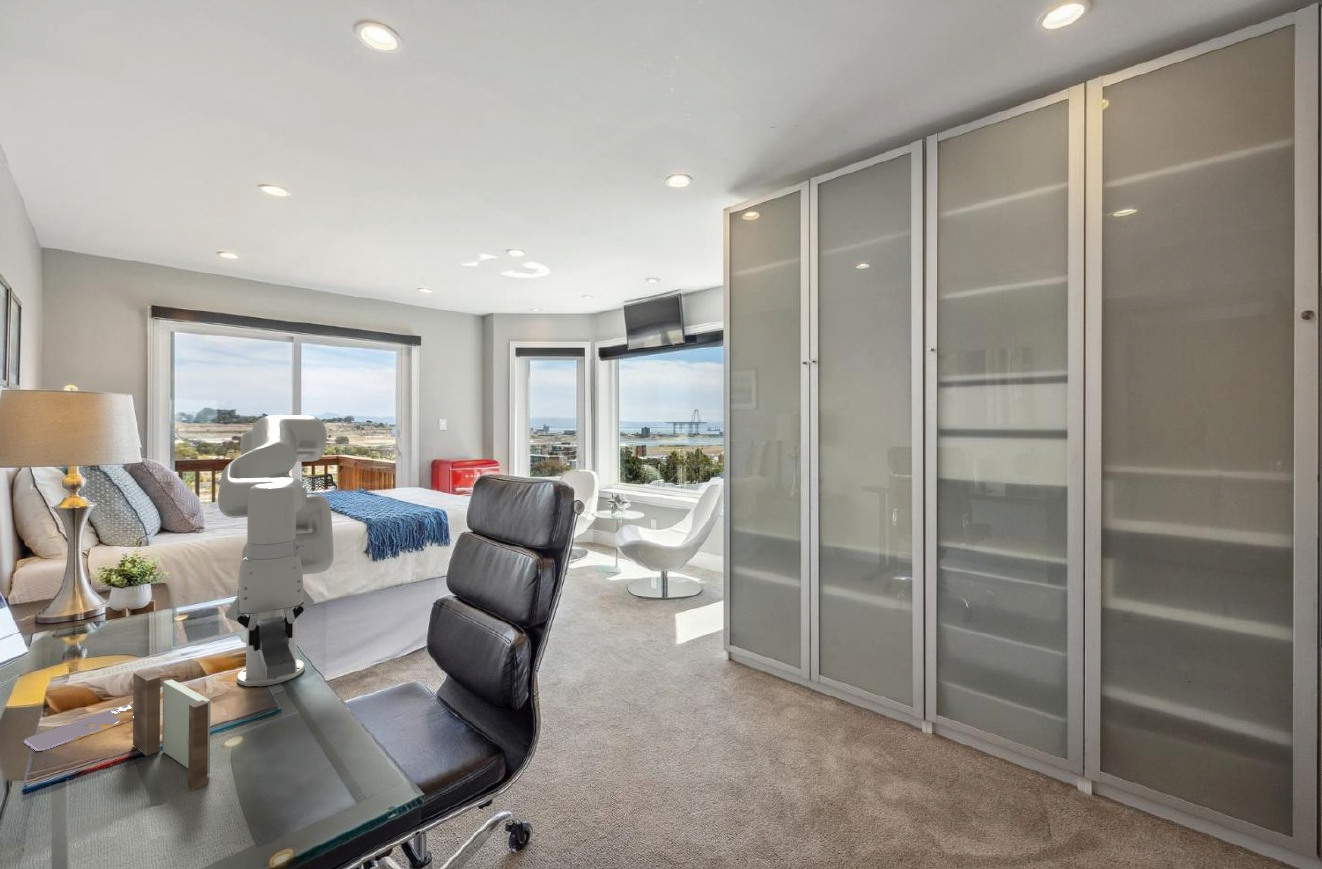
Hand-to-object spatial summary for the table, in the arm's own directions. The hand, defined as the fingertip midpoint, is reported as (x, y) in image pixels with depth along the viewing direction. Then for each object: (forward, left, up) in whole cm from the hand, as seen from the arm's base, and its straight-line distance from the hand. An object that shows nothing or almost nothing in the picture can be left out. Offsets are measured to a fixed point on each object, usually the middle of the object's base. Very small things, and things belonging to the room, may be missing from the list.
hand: (270, 644), depth 109 cm
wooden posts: (+5, -15, -15) cm, 22 cm away
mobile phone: (-19, -26, -16) cm, 36 cm away
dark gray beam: (+6, 0, -1) cm, 6 cm away
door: (+6, -13, -15) cm, 21 cm away
